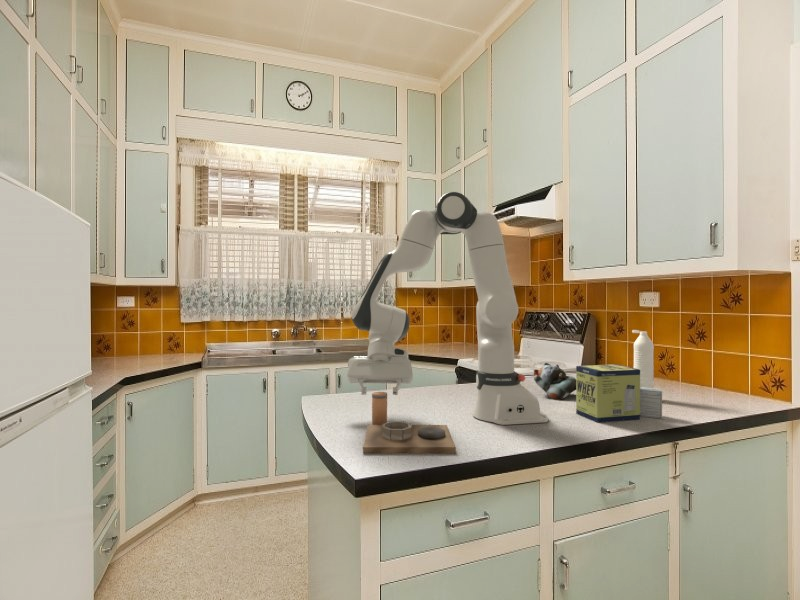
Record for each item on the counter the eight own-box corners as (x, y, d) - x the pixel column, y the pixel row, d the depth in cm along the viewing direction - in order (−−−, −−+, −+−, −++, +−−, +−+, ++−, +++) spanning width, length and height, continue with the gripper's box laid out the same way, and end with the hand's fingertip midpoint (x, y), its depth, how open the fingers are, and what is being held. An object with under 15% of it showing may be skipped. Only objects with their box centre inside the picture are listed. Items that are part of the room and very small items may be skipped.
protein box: (575, 413, 138) (575, 365, 138) (616, 411, 141) (616, 363, 141) (597, 423, 128) (597, 370, 127) (641, 419, 131) (641, 368, 131)
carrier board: (446, 430, 120) (446, 415, 120) (455, 453, 102) (455, 436, 102) (367, 430, 120) (368, 415, 120) (363, 453, 102) (363, 436, 102)
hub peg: (387, 421, 128) (387, 391, 128) (387, 426, 124) (387, 395, 124) (372, 421, 128) (372, 391, 128) (371, 426, 124) (371, 395, 123)
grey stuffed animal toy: (559, 401, 154) (539, 366, 157) (539, 407, 164) (522, 373, 168) (587, 386, 160) (568, 352, 163) (567, 392, 170) (549, 360, 174)
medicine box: (660, 415, 136) (660, 388, 136) (662, 419, 132) (662, 390, 132) (632, 412, 139) (632, 386, 139) (633, 416, 135) (633, 388, 135)
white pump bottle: (657, 400, 156) (658, 331, 156) (641, 401, 155) (641, 331, 155) (641, 395, 164) (641, 329, 164) (625, 395, 164) (625, 330, 163)
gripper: (348, 350, 136) (344, 387, 127) (412, 351, 136) (413, 388, 127) (349, 362, 141) (345, 399, 131) (411, 362, 141) (412, 399, 131)
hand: (379, 393), depth 129 cm, fingers open, 8 cm apart
